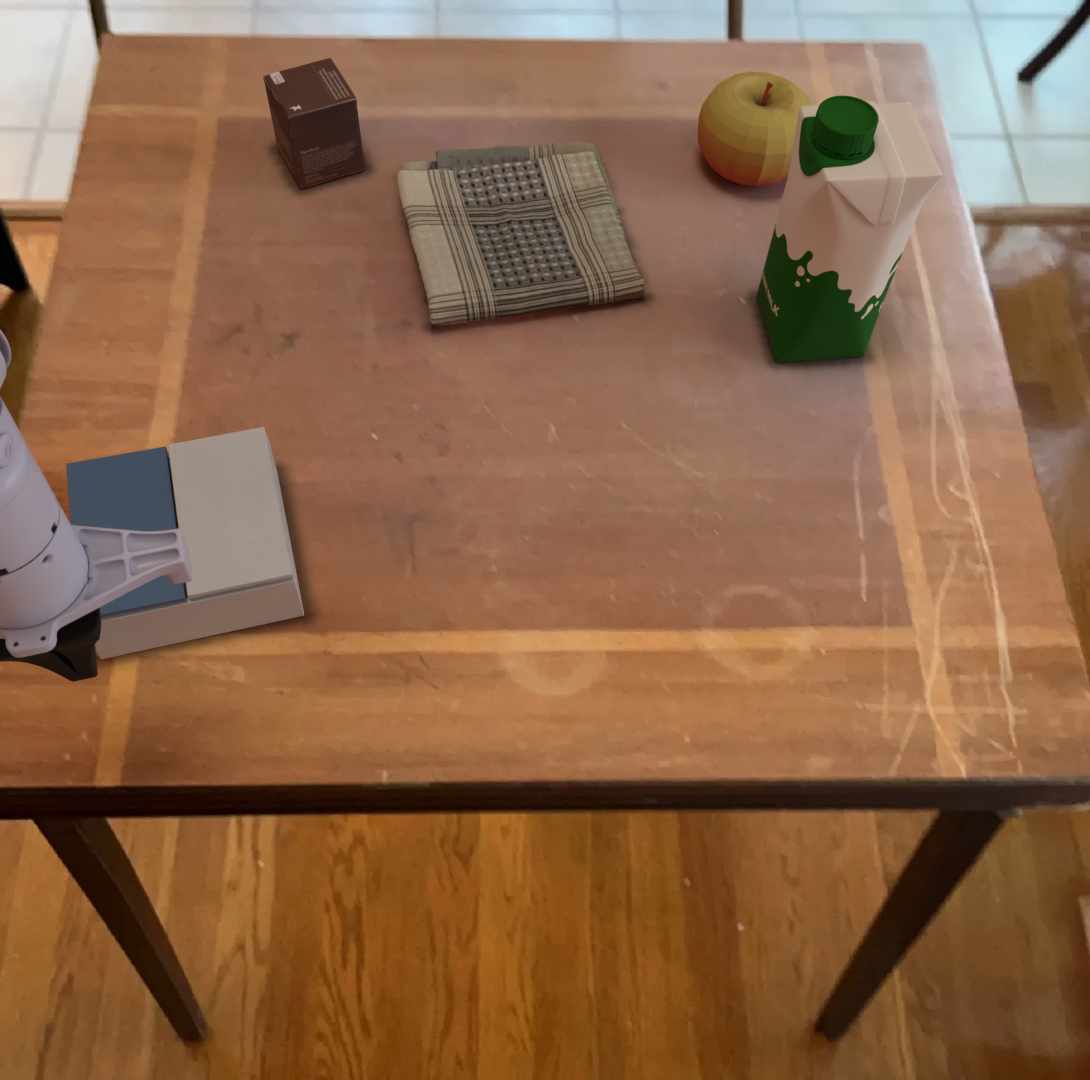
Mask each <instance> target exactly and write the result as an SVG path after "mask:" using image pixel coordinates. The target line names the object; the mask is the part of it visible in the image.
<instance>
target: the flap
mask: <svg viewBox="0 0 1090 1080" xmlns="http://www.w3.org/2000/svg"><path fill="white" fill-rule="evenodd" d="M167 452H168V447H167V446H159V447H155V448H149V449H143V450H137V451H132V452H126V453H119V454H114V455H113V454H112V455H108V456H102V457H96V458H91V459H85V460H77V461H74V462H67V463H66V464H65V467H66V480H67V482H66V483H67V490H68V491H67V495H68V508H69V510H68V511H69V520H70V521H69V522H70V524H71V525H78V526H89V527H100V528H111V529H123V530H134V531H165V530H172V529H177V523H176V515H175V508H174V500H173V492H172V484H171V477H170V469H169V461H168V454H167ZM182 601H186V592H185V584H184V583H181V584H171V583H170V581H169V579H168V577H167V576H166V575H165V576H161V577H158V578H156V579H154V580H152V581H150V582H147V583H145V584H144V585H142V586H140V587H138V588H136V589H134V590H132V591H130V592H128V593H126V594H124V595H122V596H121V597H119V598H117V599H115V600H113V601H111V602H109V603H107V604H105V605H103V606H101V607H100V613H101V617H106V616H111V615H116V614H121V613H126V612H131V611H136V610H141V609H146V608H151V607H156V606H161V605H166V604H172V603H177V602H182Z"/></svg>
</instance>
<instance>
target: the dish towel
mask: <svg viewBox="0 0 1090 1080" xmlns="http://www.w3.org/2000/svg"><path fill="white" fill-rule="evenodd" d="M599 151H600V150H599V148H598V145H597V144H596V143H590V142H587V141H583V140H580V141H573V140H570V141H566V142H554V143H549V144H539V145H527V146H522V145H521V146H519V145H518V146H517V145H512V146H511V145H510V146H505V145H499V146H496V147H485V148H483V147H482V148H470V149H441V150H436V151H435V158H436V160H429V159H427V160H426V159H424V160H421V161H420V160H419V161H407V162H405V163H403V164H401V168H400V169H401V170H399V171H397V174H396V184H397V189H398V194H399V200H400V202H401V209H402V211H403V214H404V217H405V220H406V223H407V227H408V231H409V232H408V234H409V237H410V243H411V245H412V247H413V252H414V253H413V254H414V255H415V257H416V262H417V265H418V270H419V272H420V276H421V277H420V278H421V281H422V283H423V289H424V292H425V295H426V301H427V305H428V306H427V310H428V312H429V313H428V314H429V318H428V319H429V324H430V325H432V326H450V325H460V324H467V323H471V322H479V321H485V320H495V319H500V318H505V317H513V316H521V315H527V314H528V315H531V314H535V313H543V312H546V311H555V310H561V309H565V310H566V309H571V308H580V307H585V306H593V305H600V304H608V303H615V302H619V301H626V300H629V299H637V298H642V297H644V296H645V295H646V291H645V289H644V286H645V279H644V278H643V276H642V275H641V274H640V273H641V272H640V271H639V269H638V267H637V265H636V263H635V261H634V258H633V256H632V253H631V250H630V247H629V243H628V240H627V237H626V233H625V229H624V227H623V224H622V220H621V218H620V214H619V211H618V208H617V204H616V201H615V198H614V194H613V190H612V188H611V187H612V186H611V185H610V180H609V178H608V173H607V171H606V168H605V165H604V163H603V161H602V157H601V155H600V152H599Z"/></svg>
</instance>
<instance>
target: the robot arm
mask: <svg viewBox="0 0 1090 1080" xmlns="http://www.w3.org/2000/svg"><path fill="white" fill-rule="evenodd" d="M11 361H12V349H11V345H10V343H9V340H8V339H7V337H6V335H5V334H4V332H3V331H2V330H1V329H0V389H1V388H2V386H3V384H4V382H5V380H6V378H7V373H8V371H7V369H8V367H9V366H10V364H11ZM165 575H166V576H167V577H168V579H169V581H170V583H171V584H181V583H185V582H190V581H192V572H191V564H190V557H189V550H188V547H187V545H186V542H185V540H184V537H183V535H182V532H181V530H180V529H179V528H178V529H172V530H165V531H134V530H123V529H111V528H100V527H89V526H78V525H71V523H70V521H69V519H68V517H67V515H66V514H65V511H64V510H63V507H62V506H61V505H60V502H59V501H58V499H57V497H56V495H55V493H54V491H53V489H52V487H51V485H50V484H49V482H48V480H47V478H46V477H45V475H44V473H43V471H42V469H41V468H40V466H39V464H38V462H37V460H36V459H35V456H34V455H33V452H32V451H31V449H30V447H29V446H28V444H27V442H26V440H25V438H24V437H23V434H22V433H21V431H20V429H19V427H18V426H17V424H16V422H15V420H14V418H13V416H12V415H11V413H10V411H9V409H8V407H7V406H6V404H5V402H4V400H3V398H2V397H1V396H0V662H15V663H16V662H17V663H25V664H29V665H33V666H36V667H40V668H42V669H45V670H48V671H50V672H53V673H54V674H57V675H58V676H60V677H61V678H64V679H66V680H68V681H70V682H71V683H74V682H79V681H83V680H88V679H93V678H97V676H98V674H99V672H98V660H97V652H96V647H95V644H96V642H97V641H98V640H99V639H100V633H101V613H100V607H101V606H103V605H105V604H107V603H109V602H111V601H113V600H115V599H117V598H119V597H121V596H122V595H124V594H126V593H128V592H130V591H132V590H134V589H136V588H138V587H140V586H142V585H144V584H145V583H147V582H150V581H152V580H154V579H156V578H158V577H161V576H165Z"/></svg>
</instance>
